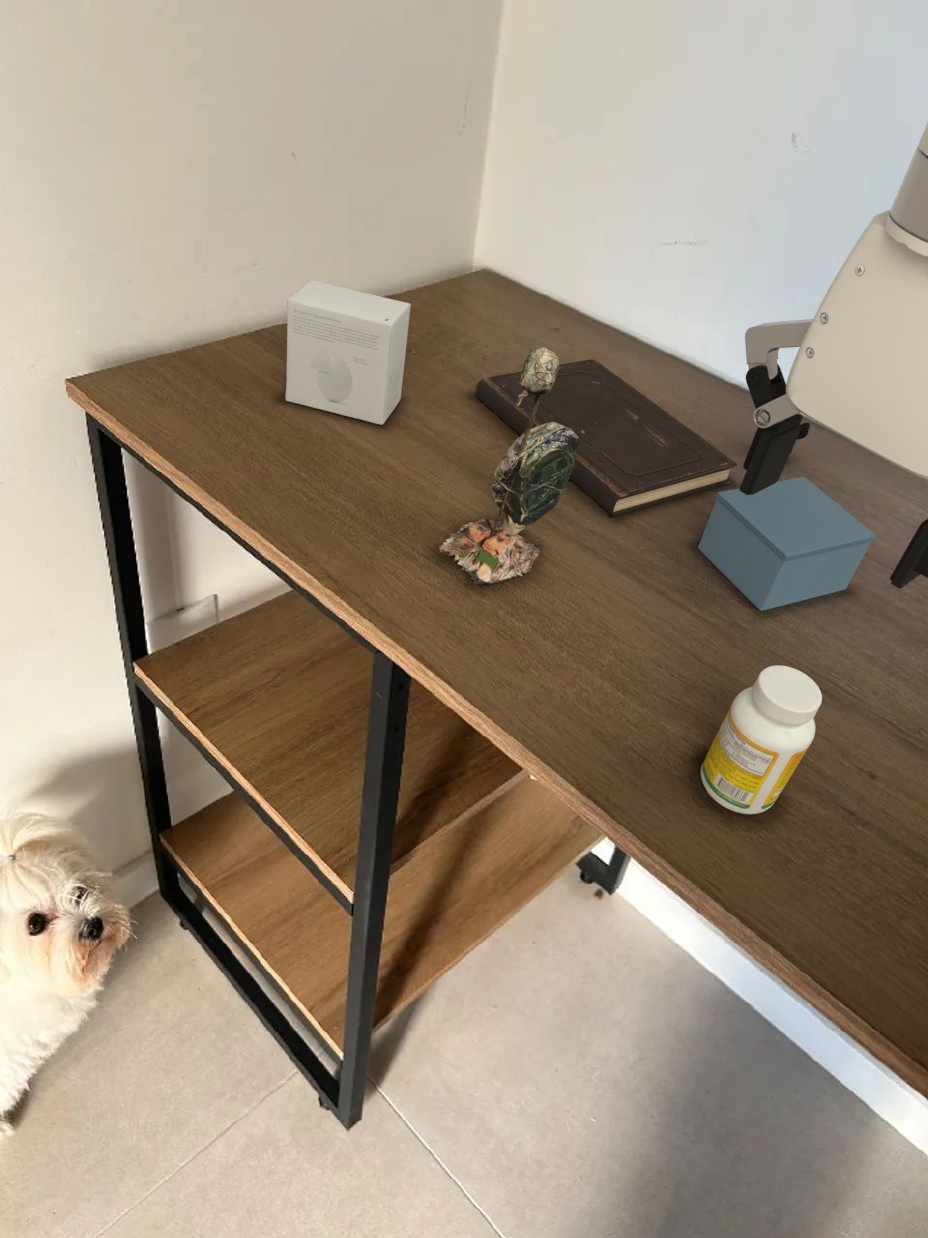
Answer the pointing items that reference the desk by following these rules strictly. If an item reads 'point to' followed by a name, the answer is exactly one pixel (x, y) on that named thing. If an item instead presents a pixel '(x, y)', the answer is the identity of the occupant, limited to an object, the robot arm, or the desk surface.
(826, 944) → the desk surface
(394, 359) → the cosmetics box
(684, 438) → the hardcover book
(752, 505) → the blue box
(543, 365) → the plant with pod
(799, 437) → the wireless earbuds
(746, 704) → the supplement bottle
